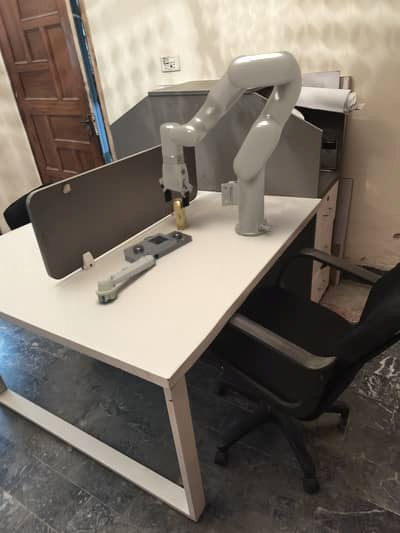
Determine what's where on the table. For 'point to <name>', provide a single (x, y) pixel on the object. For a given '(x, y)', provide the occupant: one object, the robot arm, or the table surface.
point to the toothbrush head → (122, 277)
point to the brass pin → (180, 214)
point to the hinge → (229, 193)
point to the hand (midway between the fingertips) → (177, 203)
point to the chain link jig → (157, 245)
